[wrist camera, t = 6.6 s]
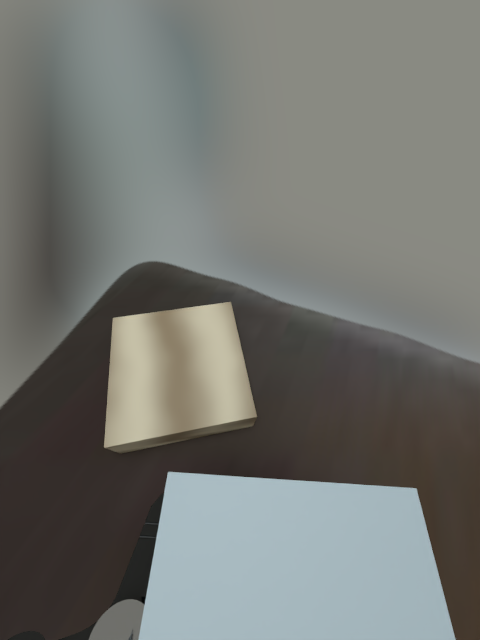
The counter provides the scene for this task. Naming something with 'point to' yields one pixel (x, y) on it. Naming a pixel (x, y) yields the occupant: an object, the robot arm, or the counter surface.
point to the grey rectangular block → (291, 563)
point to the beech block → (176, 378)
